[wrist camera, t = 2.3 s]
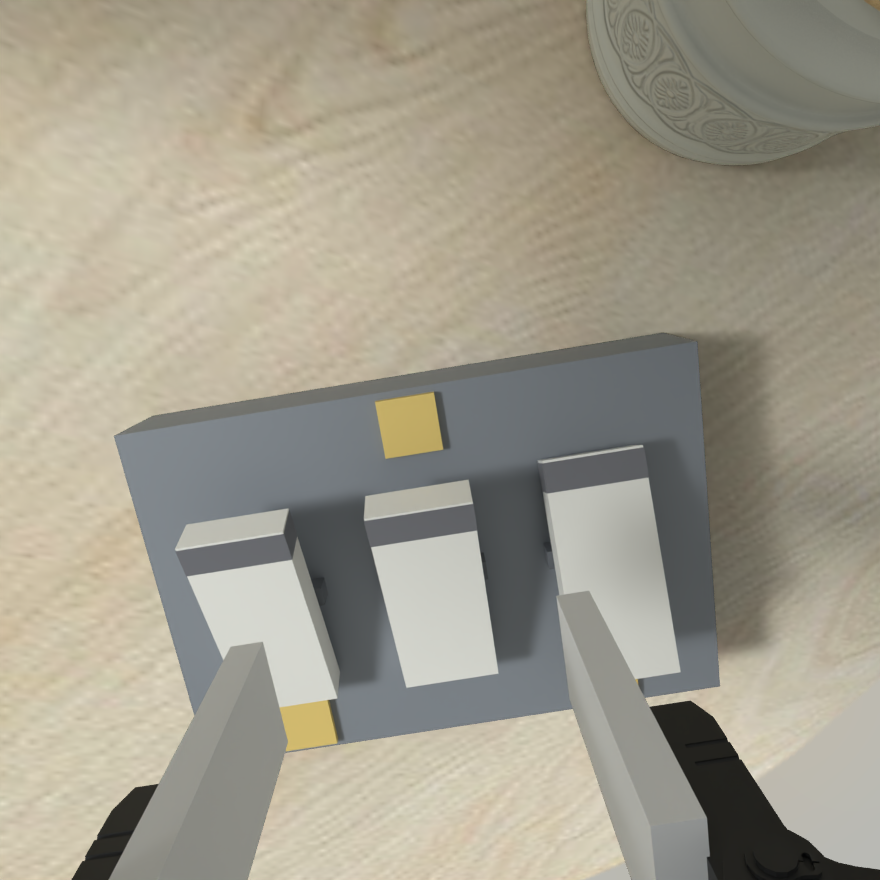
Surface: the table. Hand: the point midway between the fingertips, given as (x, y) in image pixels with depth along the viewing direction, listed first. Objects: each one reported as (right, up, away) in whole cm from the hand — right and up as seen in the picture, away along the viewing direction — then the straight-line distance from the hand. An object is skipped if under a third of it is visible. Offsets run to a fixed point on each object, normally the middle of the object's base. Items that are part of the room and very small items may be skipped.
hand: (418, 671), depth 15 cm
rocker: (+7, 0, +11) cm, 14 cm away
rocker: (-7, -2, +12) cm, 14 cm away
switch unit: (0, +1, +17) cm, 17 cm away
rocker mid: (0, -1, +12) cm, 12 cm away
